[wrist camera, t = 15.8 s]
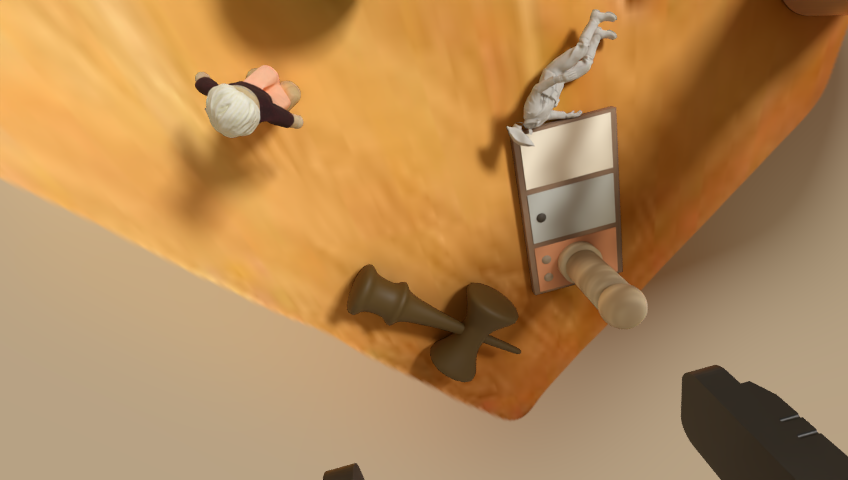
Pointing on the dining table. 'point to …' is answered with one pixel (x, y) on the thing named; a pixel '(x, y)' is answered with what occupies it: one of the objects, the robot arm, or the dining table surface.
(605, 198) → the board
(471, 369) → the kendama
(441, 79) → the dining table surface
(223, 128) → the grandmother figurine
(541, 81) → the soldier figure
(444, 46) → the dining table surface
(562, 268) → the pawn
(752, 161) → the dining table surface
